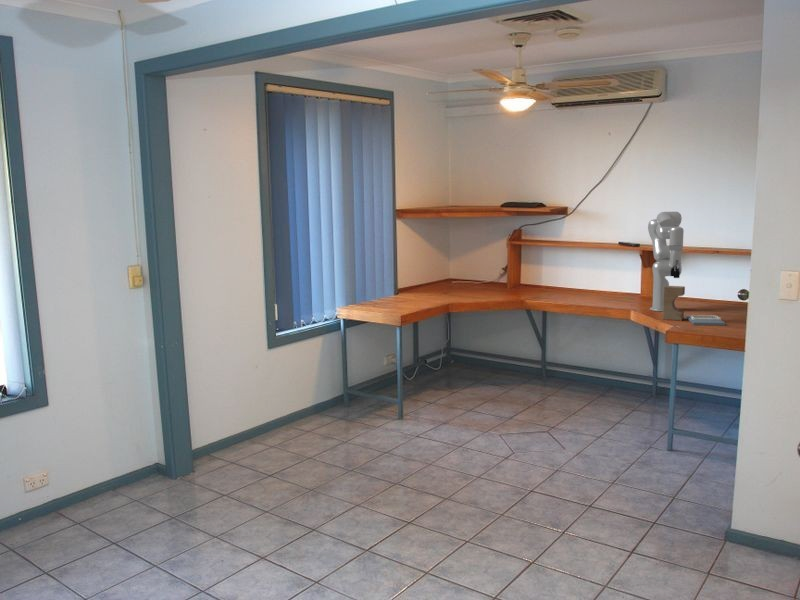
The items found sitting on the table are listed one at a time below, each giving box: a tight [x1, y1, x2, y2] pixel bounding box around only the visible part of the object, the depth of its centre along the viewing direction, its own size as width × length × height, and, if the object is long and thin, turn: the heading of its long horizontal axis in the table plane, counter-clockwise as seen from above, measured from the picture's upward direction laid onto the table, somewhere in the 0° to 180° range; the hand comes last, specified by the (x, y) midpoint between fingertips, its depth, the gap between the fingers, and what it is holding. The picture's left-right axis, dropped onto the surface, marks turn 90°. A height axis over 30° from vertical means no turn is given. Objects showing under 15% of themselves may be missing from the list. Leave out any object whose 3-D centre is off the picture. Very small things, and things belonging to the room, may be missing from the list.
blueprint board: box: [684, 314, 726, 326], centre depth 401 cm, size 24×17×2 cm
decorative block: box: [662, 285, 686, 321], centre depth 408 cm, size 11×6×20 cm, turn 57°
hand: (674, 277), depth 405 cm, fingers open, 9 cm apart
